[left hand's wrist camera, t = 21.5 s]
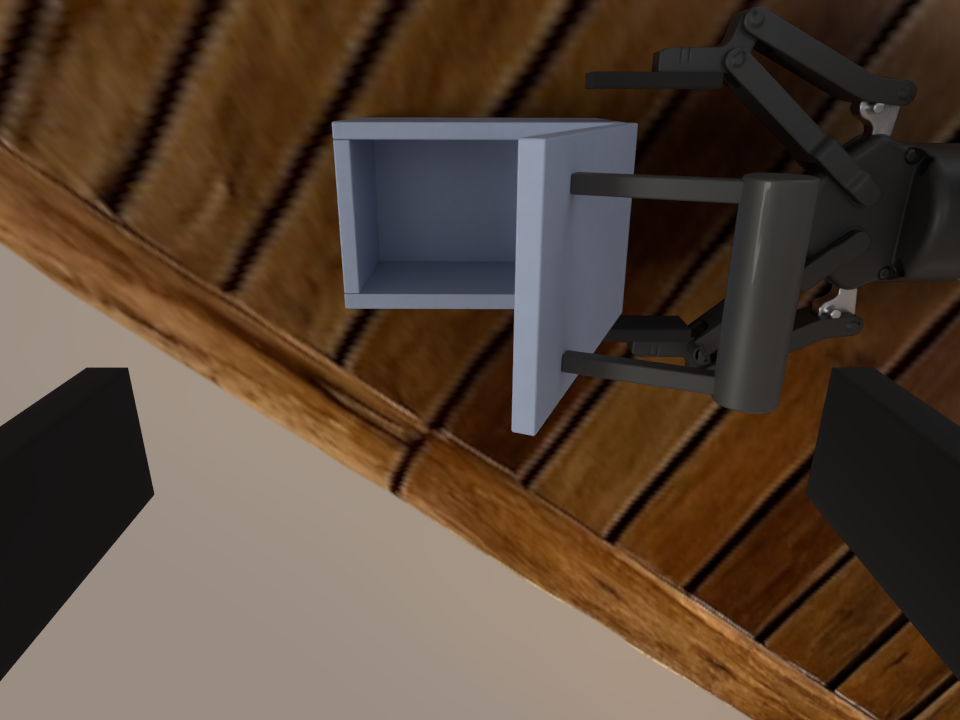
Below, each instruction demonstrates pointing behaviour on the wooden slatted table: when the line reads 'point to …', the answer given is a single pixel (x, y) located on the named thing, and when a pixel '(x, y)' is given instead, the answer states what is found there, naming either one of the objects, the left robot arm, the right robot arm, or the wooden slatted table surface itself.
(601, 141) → the lid
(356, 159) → the chest
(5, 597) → the left robot arm
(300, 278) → the wooden slatted table surface
